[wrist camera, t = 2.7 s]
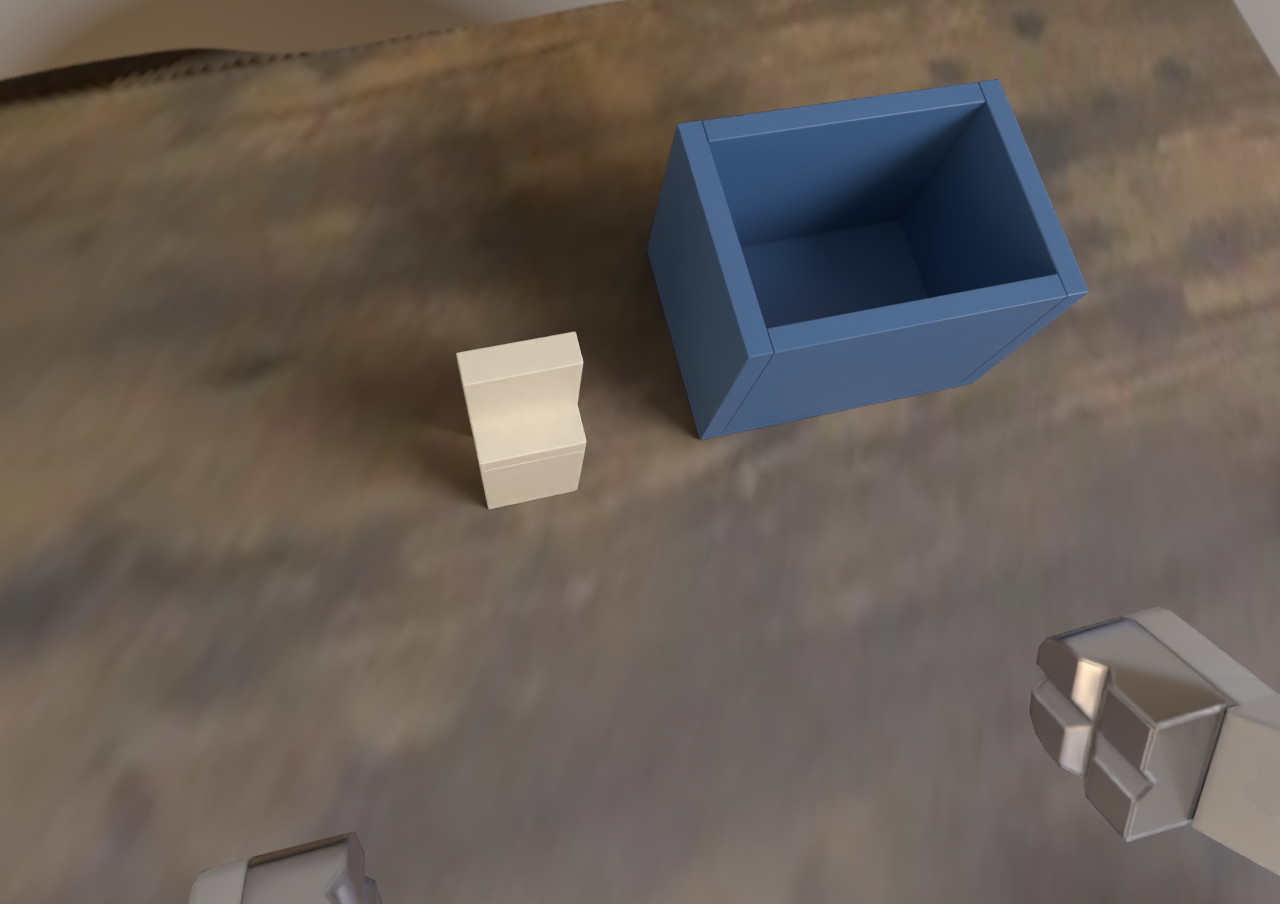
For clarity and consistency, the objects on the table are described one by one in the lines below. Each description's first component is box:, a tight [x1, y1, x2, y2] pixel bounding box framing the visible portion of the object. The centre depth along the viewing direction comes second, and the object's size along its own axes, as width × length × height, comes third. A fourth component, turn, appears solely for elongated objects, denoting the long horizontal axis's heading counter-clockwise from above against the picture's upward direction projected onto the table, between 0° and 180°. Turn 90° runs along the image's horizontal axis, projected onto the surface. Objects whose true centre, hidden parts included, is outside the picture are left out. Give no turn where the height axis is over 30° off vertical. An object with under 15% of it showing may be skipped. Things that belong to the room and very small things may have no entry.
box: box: [647, 79, 1089, 440], centre depth 39 cm, size 14×10×10 cm
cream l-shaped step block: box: [456, 332, 586, 509], centre depth 34 cm, size 4×4×11 cm
